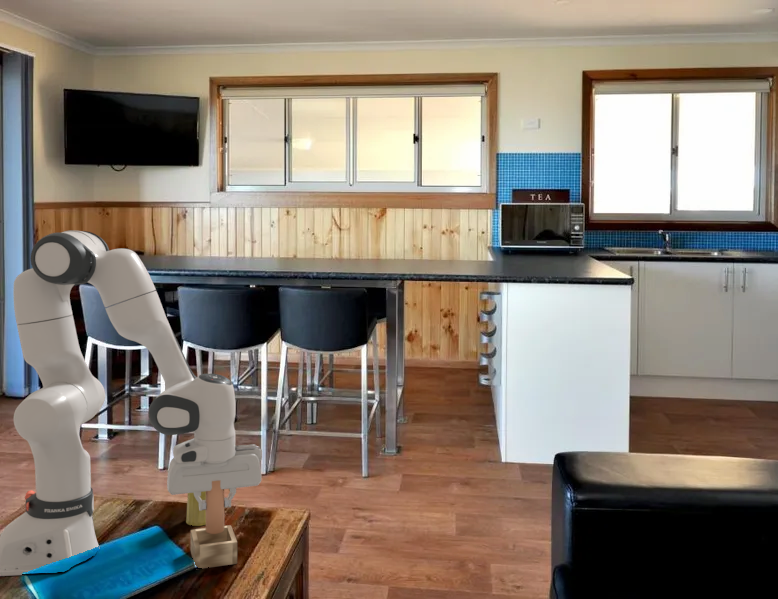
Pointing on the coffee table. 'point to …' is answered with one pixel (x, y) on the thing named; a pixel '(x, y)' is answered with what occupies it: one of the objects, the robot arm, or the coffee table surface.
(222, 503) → the peg
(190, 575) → the coffee table surface
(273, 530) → the coffee table surface
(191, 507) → the vase
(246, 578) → the coffee table surface
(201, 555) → the socket block
